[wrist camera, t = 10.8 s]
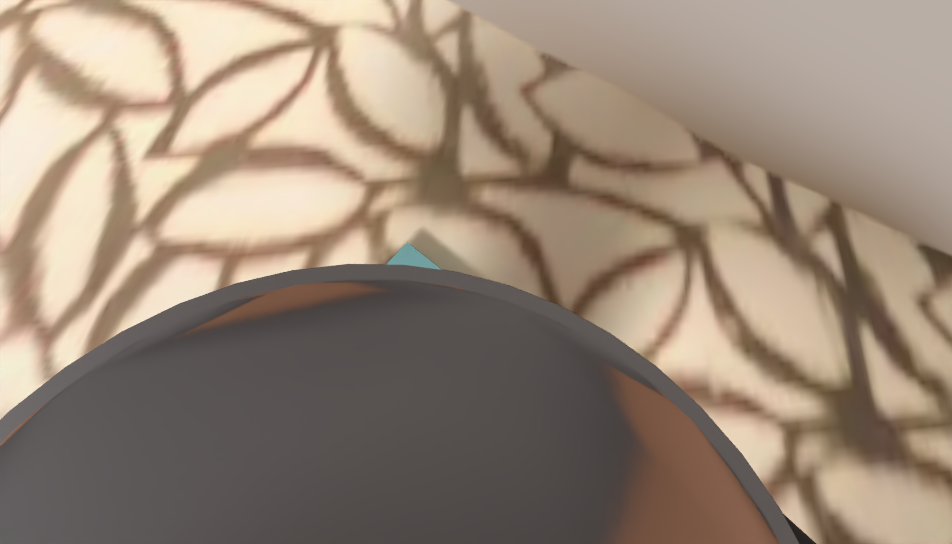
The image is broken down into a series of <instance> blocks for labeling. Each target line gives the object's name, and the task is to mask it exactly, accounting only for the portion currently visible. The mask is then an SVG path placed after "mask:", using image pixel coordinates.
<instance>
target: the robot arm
mask: <svg viewBox="0 0 952 544" xmlns="http://www.w3.org/2000/svg"><path fill="white" fill-rule="evenodd" d="M783 515H784V514H783ZM784 517H785V519H786V520H787V522H788V524H789V526H790V528H791V530H792V531H793V533H794V535H795V537H796V539H797V541H798V542H799V544H816V543H815V542H814V541H813V540H812V539H810V538H809V537H808V536H807V535H806V534H805V533H804V532H803V531H802V530H801V529H799V528H798V527H797V526H796V525H795V524H794V523H793V522H792V521H791V520H789V519H788V518H787V517H786V516H785V515H784Z"/></svg>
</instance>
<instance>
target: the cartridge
mask: <svg viewBox="0 0 952 544" xmlns="http://www.w3.org/2000/svg"><path fill="white" fill-rule="evenodd" d="M0 544H799V542H798V541H797V539H796V537H795V535H794V533H793V531H792V530H791V528H790V526H789V524H788V522H787V520H786V519H785V517H784V515H783V513H782V511H781V510H780V508H779V506H778V505H777V504H776V502H775V501H774V499H773V498H772V496H771V495H770V494H769V492H768V491H767V489H766V488H765V486H764V485H763V483H762V482H761V481H760V479H759V478H758V476H757V475H756V473H755V472H754V471H753V469H752V468H751V466H750V465H749V463H748V462H747V460H746V459H745V458H744V456H743V455H742V453H741V452H740V451H739V450H738V449H737V448H736V447H735V445H734V444H733V443H732V442H731V441H730V440H729V439H728V437H727V436H726V435H725V434H724V433H723V432H722V431H721V429H720V428H719V427H718V426H717V425H716V424H715V423H714V421H713V420H712V419H711V418H710V417H709V416H708V415H707V413H706V412H705V411H704V410H703V409H702V408H701V407H700V406H699V405H698V404H697V403H696V402H695V401H694V400H693V399H692V398H691V397H689V396H688V395H687V394H686V393H685V392H684V391H683V390H682V389H681V388H680V387H678V386H677V385H676V384H675V383H674V382H673V381H672V380H671V379H670V378H669V377H667V376H666V375H665V374H664V373H663V372H662V371H661V370H660V369H659V368H658V367H656V366H655V365H654V364H652V363H651V362H650V361H648V360H647V359H645V358H644V357H643V356H641V355H640V354H638V353H637V352H636V351H634V350H633V349H631V348H630V347H629V346H627V345H626V344H624V343H623V342H622V341H620V340H619V339H617V338H616V337H615V336H613V335H612V334H610V333H609V332H607V331H605V330H603V329H602V328H600V327H598V326H596V325H594V324H592V323H591V322H589V321H587V320H585V319H583V318H582V317H580V316H578V315H576V314H574V313H572V312H571V311H569V310H567V309H565V308H563V307H562V306H559V305H557V304H554V303H552V302H549V301H547V300H544V299H542V298H539V297H537V296H534V295H532V294H529V293H527V292H524V291H522V290H519V289H517V288H514V287H512V286H509V285H505V284H501V283H498V282H494V281H490V280H486V279H482V278H479V277H475V276H471V275H467V274H463V273H460V272H454V271H447V270H439V269H432V268H424V267H417V266H409V265H384V264H345V265H336V266H327V267H318V268H309V269H300V270H292V271H287V272H283V273H279V274H275V275H270V276H266V277H262V278H257V279H253V280H249V281H244V282H240V283H236V284H233V285H230V286H227V287H225V288H222V289H219V290H216V291H213V292H211V293H208V294H205V295H202V296H199V297H197V298H194V299H191V300H188V301H186V302H183V303H180V304H178V305H176V306H173V307H171V308H169V309H167V310H165V311H163V312H161V313H159V314H157V315H155V316H153V317H151V318H149V319H147V320H145V321H143V322H141V323H139V324H137V325H135V326H133V327H131V328H128V329H126V330H124V331H122V332H121V333H119V334H117V335H116V336H114V337H113V338H111V339H109V340H108V341H106V342H105V343H103V344H102V345H100V346H98V347H97V348H95V349H94V350H92V351H90V352H89V353H87V354H86V355H84V356H83V357H81V358H79V359H78V360H76V361H75V362H73V363H71V364H70V365H68V366H67V367H65V368H64V369H63V370H61V371H60V372H59V373H57V374H56V375H55V376H54V377H52V378H51V379H50V380H49V381H47V382H46V383H45V384H43V385H42V386H41V387H40V388H38V389H37V390H36V391H35V392H33V393H32V394H31V395H29V396H28V397H27V398H26V399H24V400H23V401H22V402H21V403H19V404H18V405H17V406H15V407H14V408H13V409H12V410H10V411H9V412H8V413H7V414H6V415H5V416H4V417H3V418H2V419H1V420H0Z"/></svg>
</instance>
